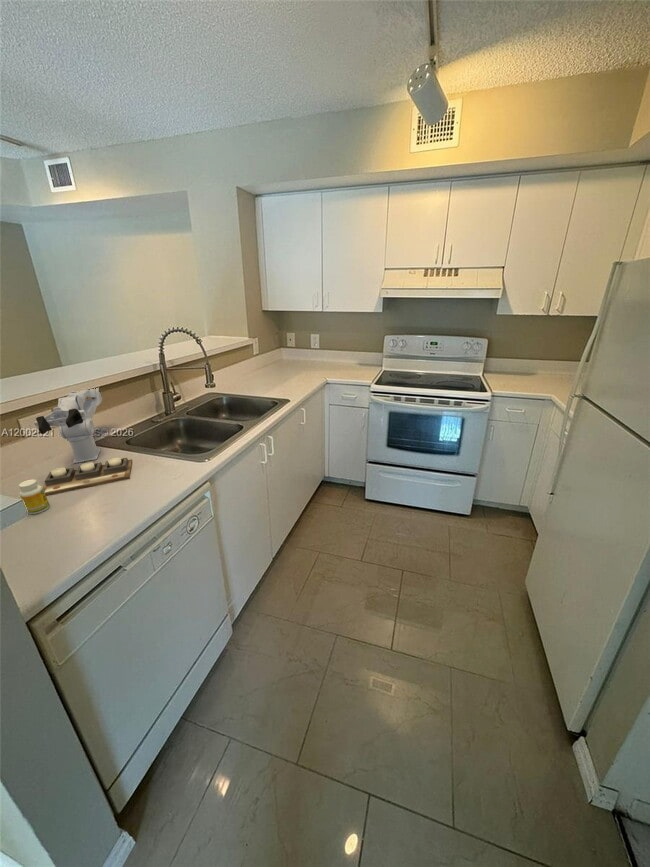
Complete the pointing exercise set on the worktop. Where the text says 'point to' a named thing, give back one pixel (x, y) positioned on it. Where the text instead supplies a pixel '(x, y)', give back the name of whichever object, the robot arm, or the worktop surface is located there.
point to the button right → (115, 462)
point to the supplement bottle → (33, 496)
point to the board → (87, 477)
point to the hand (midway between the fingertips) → (54, 428)
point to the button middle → (87, 467)
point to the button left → (59, 472)
